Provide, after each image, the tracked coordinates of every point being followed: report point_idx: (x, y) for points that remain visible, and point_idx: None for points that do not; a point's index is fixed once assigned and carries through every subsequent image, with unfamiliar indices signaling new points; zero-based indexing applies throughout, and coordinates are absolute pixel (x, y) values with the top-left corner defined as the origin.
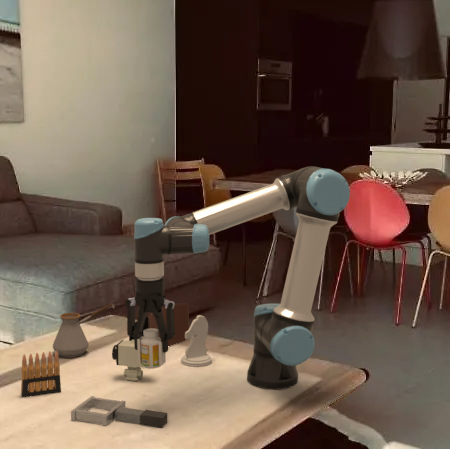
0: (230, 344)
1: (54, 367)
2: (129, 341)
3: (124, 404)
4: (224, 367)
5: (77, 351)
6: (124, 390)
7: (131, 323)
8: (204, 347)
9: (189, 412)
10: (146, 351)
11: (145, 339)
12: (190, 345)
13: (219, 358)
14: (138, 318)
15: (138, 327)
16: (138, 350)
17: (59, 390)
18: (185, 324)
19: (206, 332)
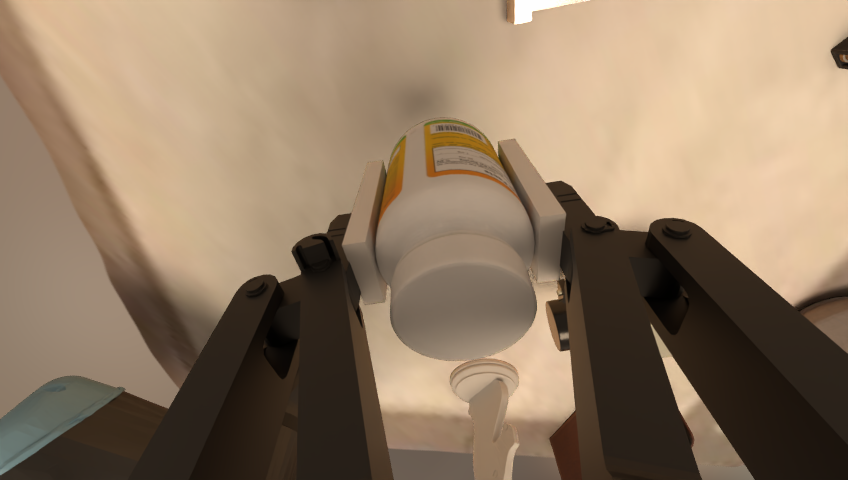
0: (464, 443)
1: None
2: (663, 353)
3: (512, 11)
4: (413, 377)
5: (813, 318)
6: (583, 178)
7: (729, 321)
8: (474, 416)
9: (301, 125)
10: (446, 153)
11: (480, 220)
12: (498, 411)
13: (448, 401)
14: (664, 409)
15: (600, 297)
16: (529, 172)
17: (846, 45)
18: (565, 472)
19: (475, 457)
